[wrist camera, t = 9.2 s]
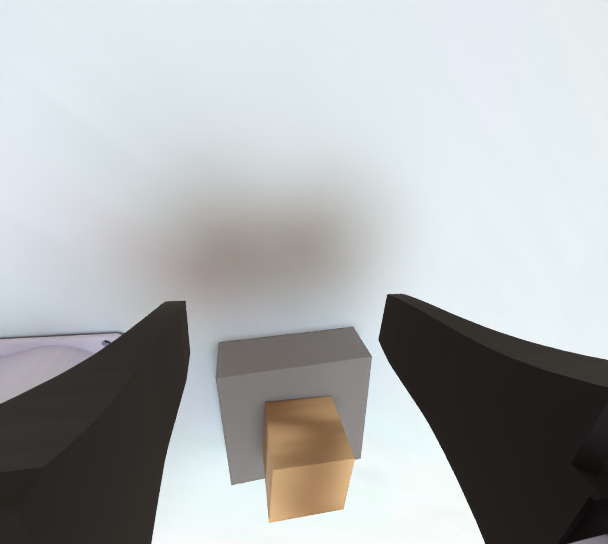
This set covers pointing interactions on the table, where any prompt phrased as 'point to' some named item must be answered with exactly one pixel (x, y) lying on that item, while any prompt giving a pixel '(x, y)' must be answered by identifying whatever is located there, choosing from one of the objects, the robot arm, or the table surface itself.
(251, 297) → the table surface
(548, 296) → the table surface
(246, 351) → the gray block
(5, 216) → the table surface
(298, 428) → the oak cube
